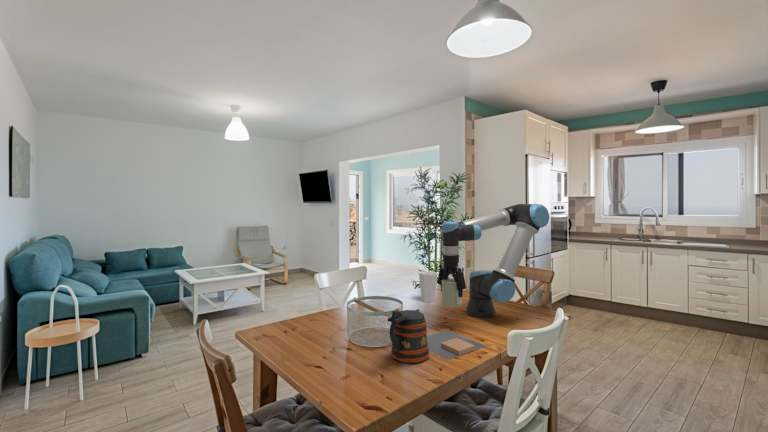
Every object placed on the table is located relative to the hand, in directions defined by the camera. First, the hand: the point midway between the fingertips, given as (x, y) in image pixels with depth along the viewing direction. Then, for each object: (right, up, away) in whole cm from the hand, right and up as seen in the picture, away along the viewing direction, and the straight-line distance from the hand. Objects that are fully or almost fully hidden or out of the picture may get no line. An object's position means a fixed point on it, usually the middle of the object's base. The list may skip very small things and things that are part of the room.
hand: (451, 301), depth 171 cm
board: (-6, -13, -22) cm, 26 cm away
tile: (+1, -12, -24) cm, 27 cm away
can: (0, -2, 0) cm, 2 cm away
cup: (-6, -11, +47) cm, 49 cm away
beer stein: (-23, -14, -33) cm, 43 cm away
